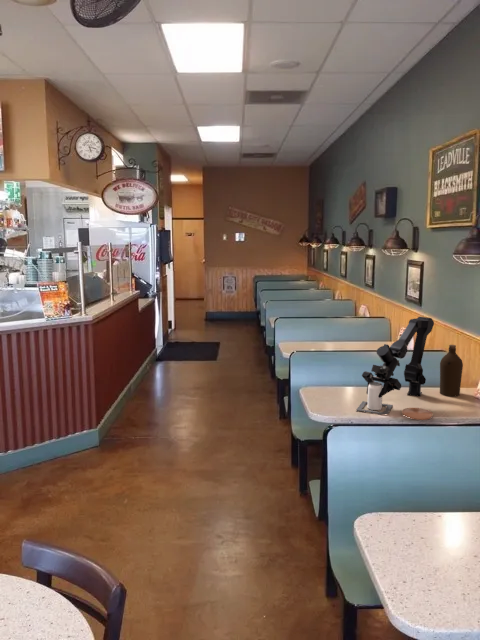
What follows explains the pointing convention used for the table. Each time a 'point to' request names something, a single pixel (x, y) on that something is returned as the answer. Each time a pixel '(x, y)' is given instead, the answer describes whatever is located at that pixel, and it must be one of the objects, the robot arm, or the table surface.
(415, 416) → the plate
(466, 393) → the table surface
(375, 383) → the can
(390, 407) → the gray square frame
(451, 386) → the olive oil
